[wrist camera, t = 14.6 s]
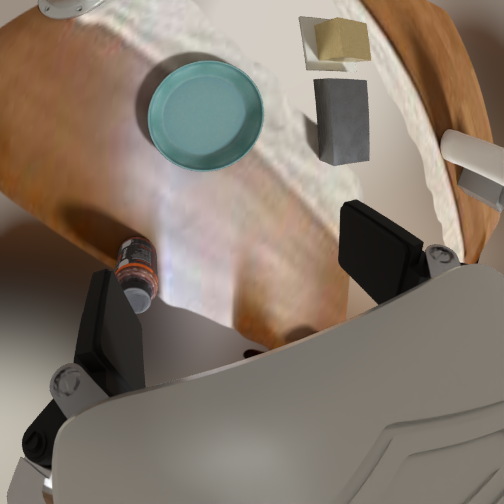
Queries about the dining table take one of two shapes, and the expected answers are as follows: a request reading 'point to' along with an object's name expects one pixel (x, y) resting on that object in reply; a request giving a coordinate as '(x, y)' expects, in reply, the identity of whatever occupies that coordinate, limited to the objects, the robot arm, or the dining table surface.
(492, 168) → the bottle
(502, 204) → the perfume bottle
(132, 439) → the robot arm
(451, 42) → the dining table surface
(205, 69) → the saucer
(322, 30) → the gold block
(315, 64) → the mat
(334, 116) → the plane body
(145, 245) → the supplement bottle
